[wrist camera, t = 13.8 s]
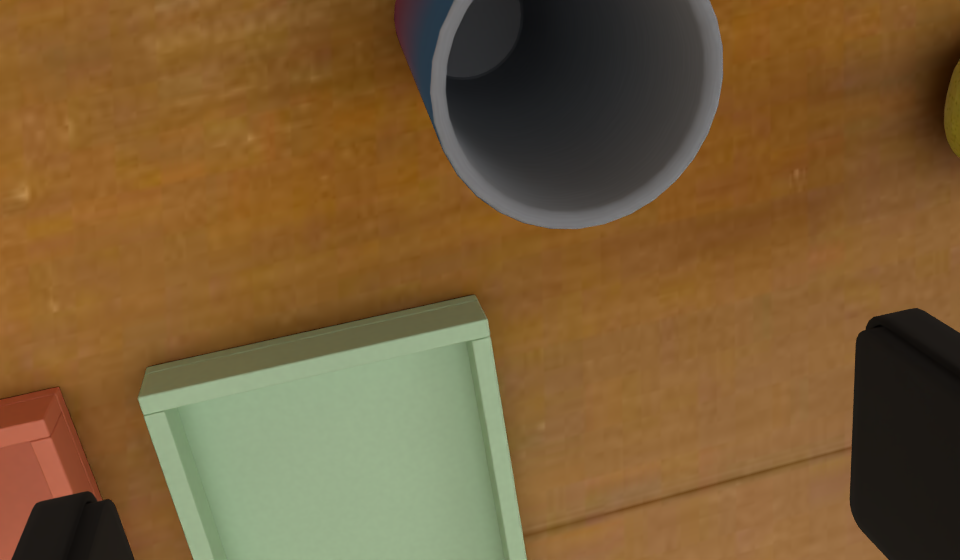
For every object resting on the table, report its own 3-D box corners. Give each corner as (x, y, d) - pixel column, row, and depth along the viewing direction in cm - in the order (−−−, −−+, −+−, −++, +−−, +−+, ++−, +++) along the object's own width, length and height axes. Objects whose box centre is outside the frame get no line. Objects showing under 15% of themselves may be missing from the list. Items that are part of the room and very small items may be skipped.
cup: (548, 102, 36) (712, 218, 22) (375, 112, 35) (435, 241, 21) (550, -85, 33) (737, -84, 20) (363, -81, 32) (423, -77, 18)
